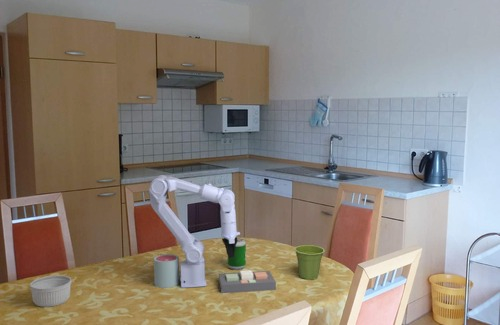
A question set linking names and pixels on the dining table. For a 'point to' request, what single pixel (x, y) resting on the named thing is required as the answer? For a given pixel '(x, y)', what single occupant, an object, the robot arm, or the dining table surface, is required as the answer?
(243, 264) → the soda can
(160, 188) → the robot arm
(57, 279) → the ramekin
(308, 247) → the plant pot
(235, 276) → the sage key
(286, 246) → the dining table surface
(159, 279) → the mug
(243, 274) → the cream key
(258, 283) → the keypad
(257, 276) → the terracotta key
